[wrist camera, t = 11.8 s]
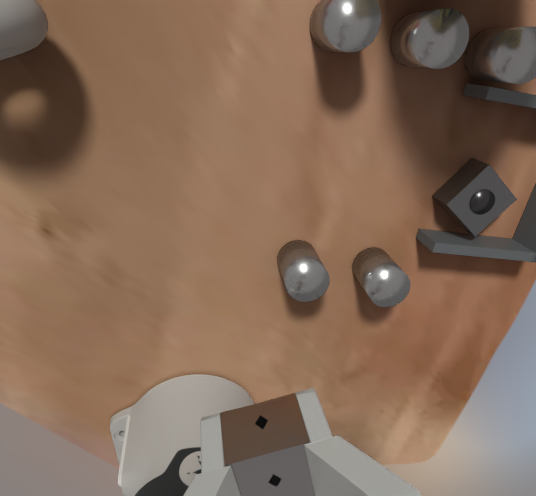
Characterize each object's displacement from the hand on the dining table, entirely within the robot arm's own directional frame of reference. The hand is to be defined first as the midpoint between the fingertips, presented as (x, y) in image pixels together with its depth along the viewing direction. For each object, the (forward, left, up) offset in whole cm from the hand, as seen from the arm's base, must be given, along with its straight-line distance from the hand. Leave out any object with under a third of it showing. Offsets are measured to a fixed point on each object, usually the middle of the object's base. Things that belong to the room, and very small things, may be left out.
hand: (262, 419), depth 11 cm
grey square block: (0, -25, -30) cm, 39 cm away
